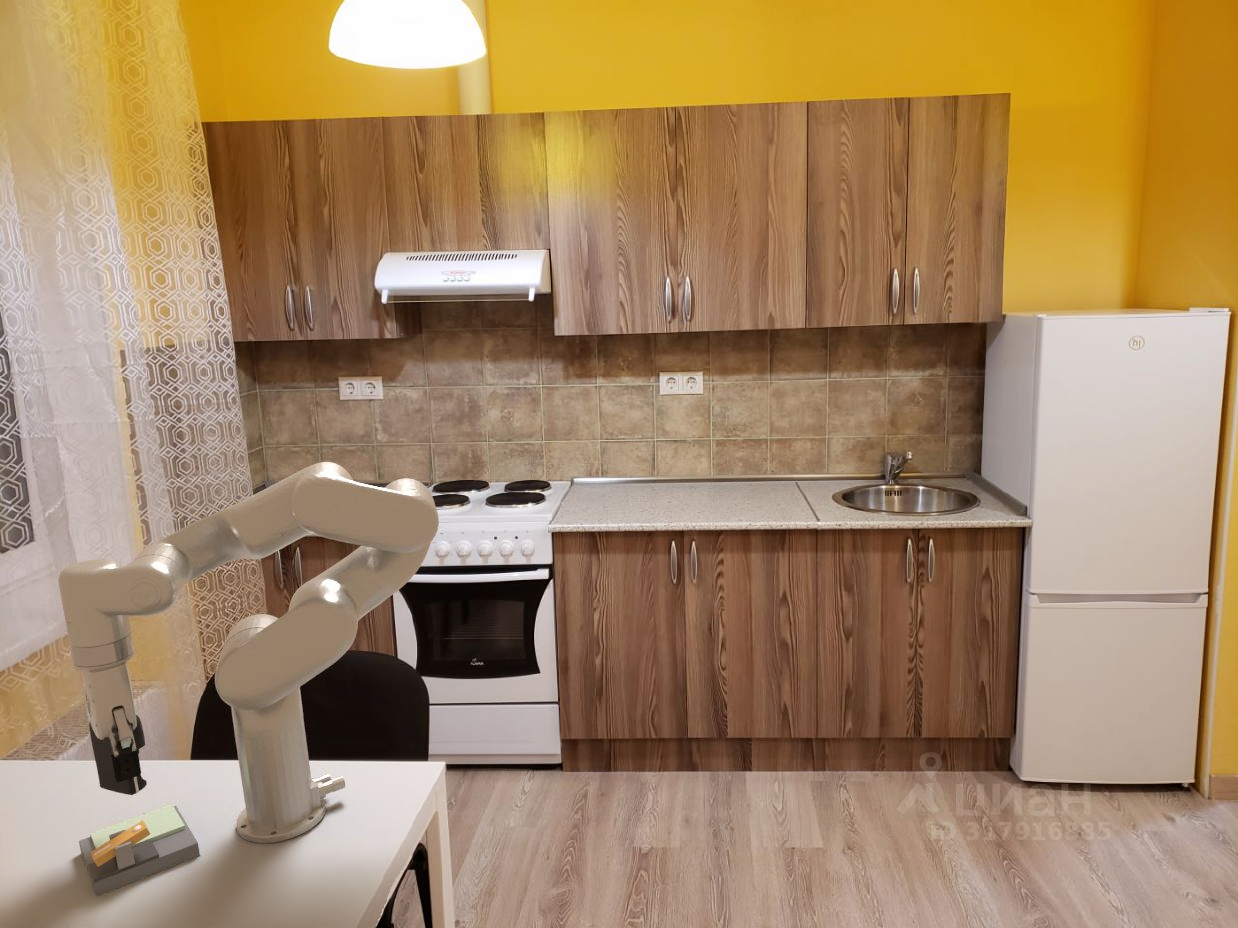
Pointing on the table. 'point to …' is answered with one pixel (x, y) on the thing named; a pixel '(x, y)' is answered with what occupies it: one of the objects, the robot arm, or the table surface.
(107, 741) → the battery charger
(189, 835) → the grey holder stand
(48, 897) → the table surface
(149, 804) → the table surface
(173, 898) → the table surface
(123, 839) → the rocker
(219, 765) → the table surface
